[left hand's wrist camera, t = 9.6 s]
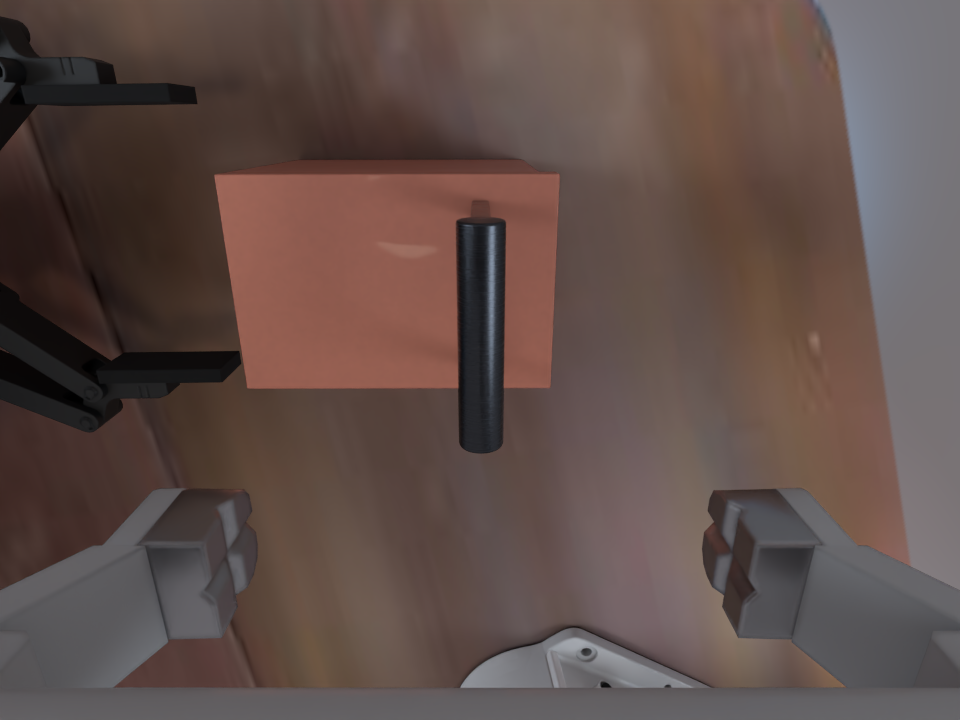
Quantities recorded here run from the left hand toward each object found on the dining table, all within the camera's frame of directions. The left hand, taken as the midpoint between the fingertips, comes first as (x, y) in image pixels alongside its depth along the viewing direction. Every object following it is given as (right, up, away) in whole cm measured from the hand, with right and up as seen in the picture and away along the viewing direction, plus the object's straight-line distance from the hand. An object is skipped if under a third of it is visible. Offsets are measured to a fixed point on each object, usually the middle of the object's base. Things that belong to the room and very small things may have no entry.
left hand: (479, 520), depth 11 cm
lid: (-4, +6, +16) cm, 18 cm away
